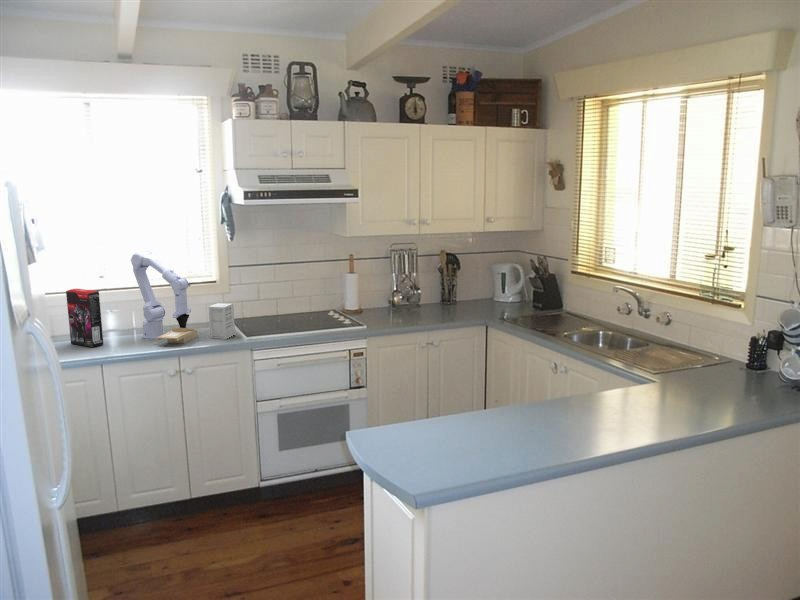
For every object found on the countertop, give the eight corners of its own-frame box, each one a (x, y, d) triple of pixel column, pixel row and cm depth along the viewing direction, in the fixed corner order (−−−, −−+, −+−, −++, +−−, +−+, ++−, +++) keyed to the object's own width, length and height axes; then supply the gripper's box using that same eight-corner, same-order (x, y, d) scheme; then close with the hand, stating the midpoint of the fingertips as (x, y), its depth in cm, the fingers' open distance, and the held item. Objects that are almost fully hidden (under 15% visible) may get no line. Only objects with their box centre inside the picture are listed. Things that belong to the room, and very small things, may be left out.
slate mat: (153, 345, 326) (153, 344, 326) (176, 334, 348) (176, 334, 347) (189, 347, 323) (189, 346, 323) (210, 336, 344) (210, 335, 344)
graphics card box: (69, 344, 330) (64, 290, 325) (82, 341, 336) (76, 287, 331) (92, 348, 322) (87, 292, 317) (105, 345, 328) (100, 290, 323)
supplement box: (235, 335, 346) (234, 303, 343) (226, 339, 337) (224, 307, 334) (219, 334, 348) (217, 302, 345) (209, 338, 340) (207, 306, 336)
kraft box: (167, 342, 330) (166, 334, 329) (181, 335, 344) (181, 328, 343) (184, 343, 329) (183, 335, 328) (197, 336, 342) (197, 328, 341)
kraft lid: (157, 340, 323) (156, 333, 322) (172, 333, 336) (171, 327, 335) (177, 340, 321) (176, 334, 320) (191, 334, 334) (191, 327, 334)
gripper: (181, 305, 326) (183, 332, 328) (195, 300, 340) (197, 326, 342) (167, 305, 327) (169, 332, 330) (183, 299, 341) (184, 325, 344)
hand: (183, 329), depth 336 cm, fingers closed
